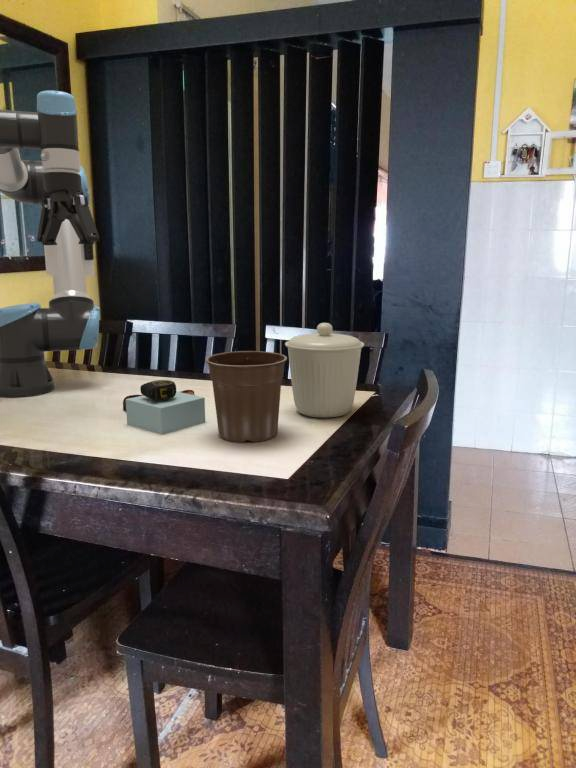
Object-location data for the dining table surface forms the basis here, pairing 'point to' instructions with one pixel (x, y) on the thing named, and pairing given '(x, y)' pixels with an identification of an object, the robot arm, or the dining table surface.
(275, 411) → the plant pot
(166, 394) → the tape measure
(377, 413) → the dining table surface
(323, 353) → the canister
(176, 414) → the painted block
